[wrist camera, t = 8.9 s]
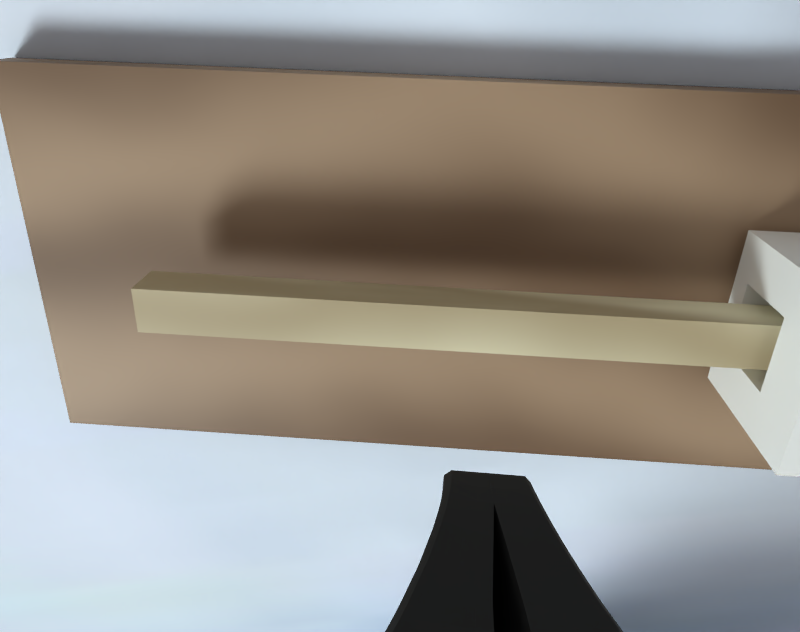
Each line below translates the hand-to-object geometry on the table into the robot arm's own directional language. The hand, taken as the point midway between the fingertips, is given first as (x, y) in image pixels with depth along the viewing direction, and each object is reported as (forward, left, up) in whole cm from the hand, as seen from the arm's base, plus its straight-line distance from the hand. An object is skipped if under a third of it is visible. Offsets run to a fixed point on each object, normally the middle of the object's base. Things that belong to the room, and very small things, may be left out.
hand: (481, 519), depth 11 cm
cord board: (+1, -3, -9) cm, 10 cm away
